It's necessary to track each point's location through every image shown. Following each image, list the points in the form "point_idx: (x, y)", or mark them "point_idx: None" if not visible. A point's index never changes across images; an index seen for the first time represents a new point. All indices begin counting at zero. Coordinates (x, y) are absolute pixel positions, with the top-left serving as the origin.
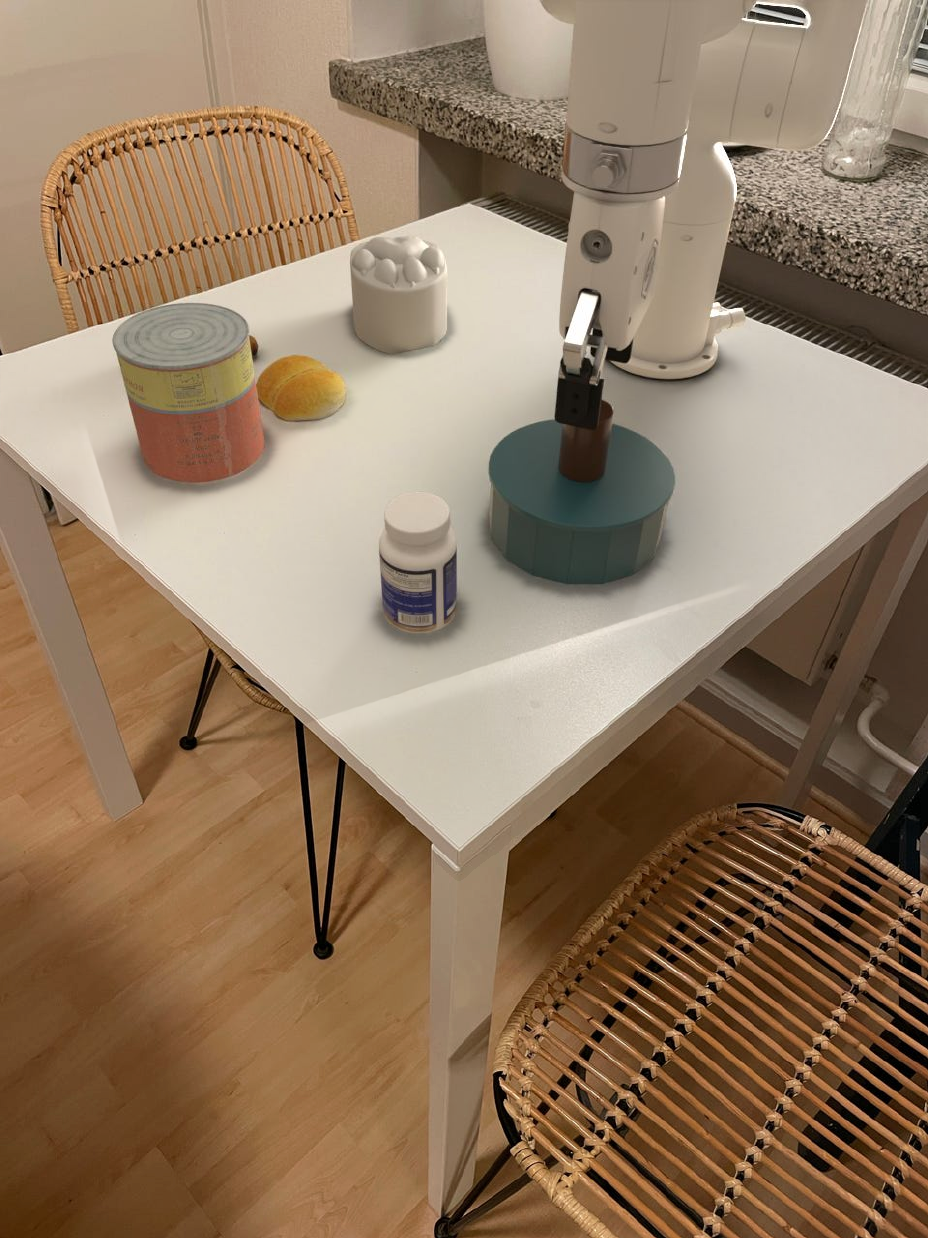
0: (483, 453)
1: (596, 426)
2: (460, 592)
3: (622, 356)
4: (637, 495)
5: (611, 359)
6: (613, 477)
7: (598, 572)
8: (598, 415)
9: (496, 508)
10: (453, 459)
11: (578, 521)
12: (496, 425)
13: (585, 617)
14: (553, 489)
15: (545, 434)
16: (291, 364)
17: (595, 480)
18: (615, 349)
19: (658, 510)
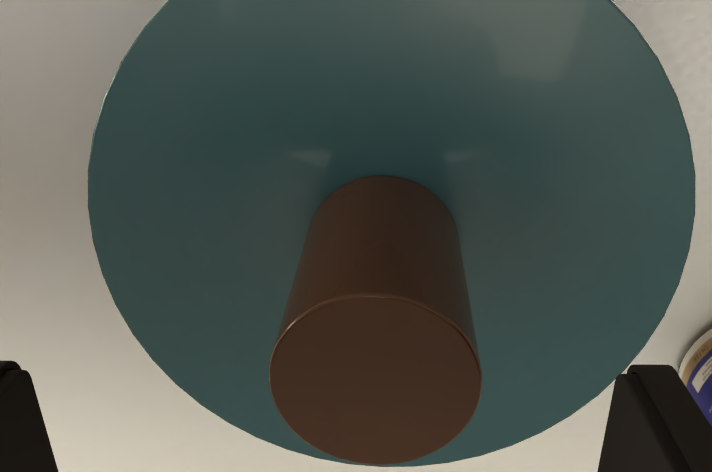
0: (188, 405)
1: (676, 372)
2: (669, 318)
3: (16, 407)
4: (469, 38)
5: (43, 430)
6: (391, 142)
7: None
8: (698, 413)
9: None
10: (239, 447)
11: (672, 187)
12: (75, 409)
13: (700, 42)
14: (520, 292)
15: (254, 374)
16: None
17: (432, 191)
18: (10, 463)
19: None
